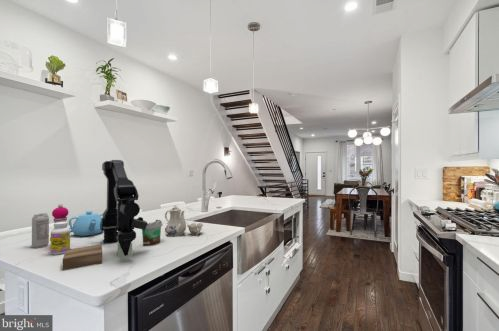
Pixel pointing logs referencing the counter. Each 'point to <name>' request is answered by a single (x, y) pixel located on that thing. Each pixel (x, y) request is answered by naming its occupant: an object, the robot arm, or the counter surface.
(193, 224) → the chinaware
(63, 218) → the pepper mill
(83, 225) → the teapot
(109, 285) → the counter surface
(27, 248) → the counter surface
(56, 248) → the supplement bottle
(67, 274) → the counter surface
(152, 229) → the food container
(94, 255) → the walnut block
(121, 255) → the sage cube
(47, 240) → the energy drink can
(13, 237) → the counter surface
